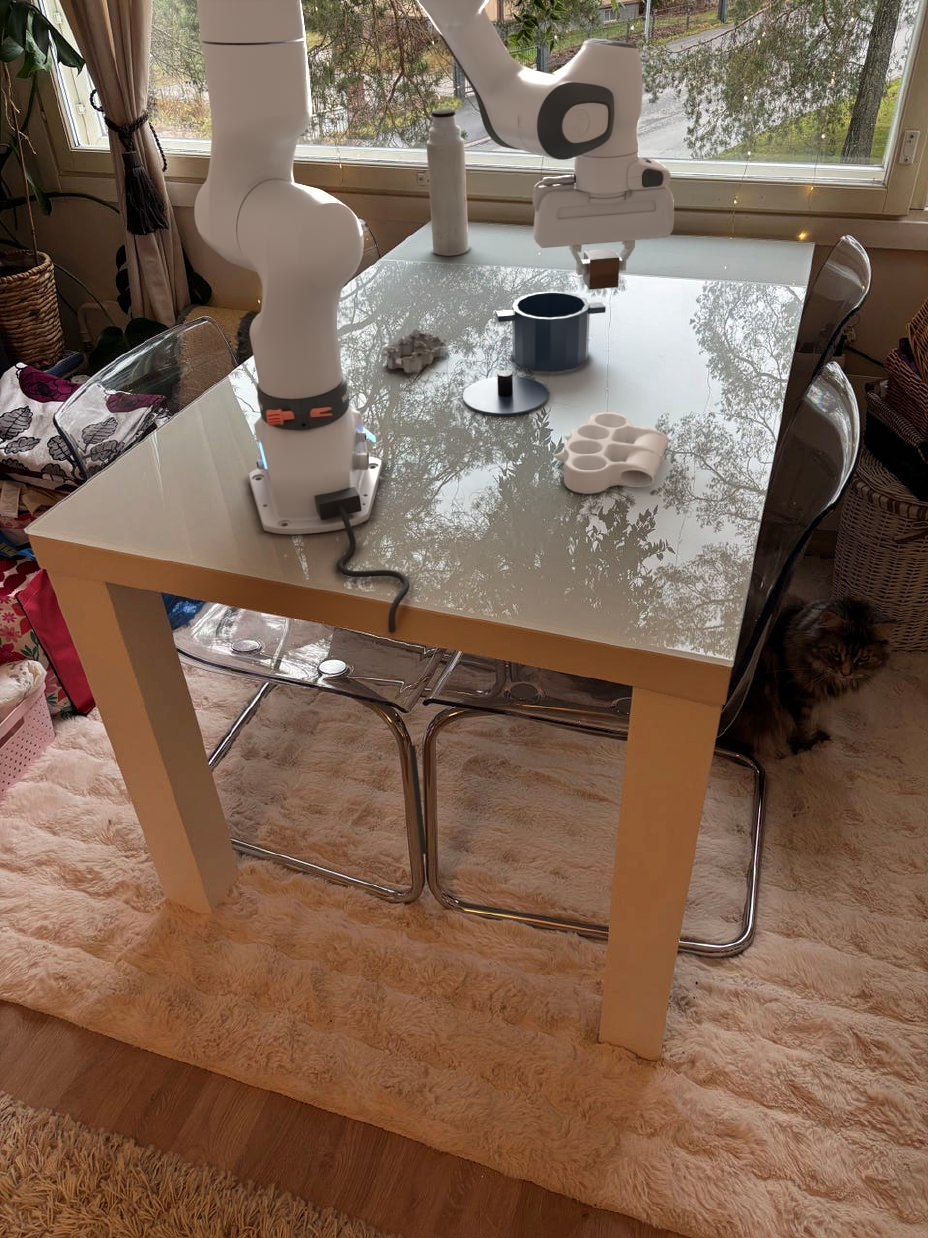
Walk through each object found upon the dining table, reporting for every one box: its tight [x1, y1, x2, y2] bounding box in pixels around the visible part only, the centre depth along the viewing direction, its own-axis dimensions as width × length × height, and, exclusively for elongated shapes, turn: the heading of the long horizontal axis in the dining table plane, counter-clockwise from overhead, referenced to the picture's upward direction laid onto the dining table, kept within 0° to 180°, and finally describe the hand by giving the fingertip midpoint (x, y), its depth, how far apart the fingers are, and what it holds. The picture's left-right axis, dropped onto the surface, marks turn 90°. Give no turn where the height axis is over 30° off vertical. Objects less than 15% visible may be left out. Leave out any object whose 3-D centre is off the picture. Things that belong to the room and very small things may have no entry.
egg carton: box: [381, 329, 448, 374], centre depth 160 cm, size 11×8×4 cm
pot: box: [495, 290, 607, 373], centre depth 157 cm, size 13×18×10 cm
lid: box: [462, 369, 549, 417], centre depth 147 cm, size 14×14×5 cm
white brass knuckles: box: [552, 411, 670, 495], centre depth 130 cm, size 3×18×15 cm
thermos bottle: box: [425, 108, 470, 256], centre depth 200 cm, size 8×8×28 cm
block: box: [582, 247, 620, 291], centre depth 139 cm, size 4×4×4 cm
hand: (601, 271), depth 139 cm, fingers closed on block, 4 cm apart
